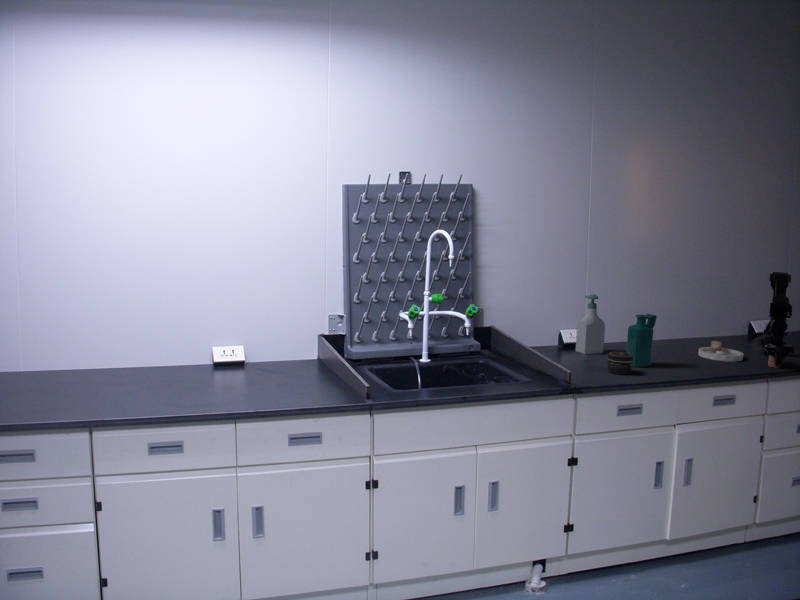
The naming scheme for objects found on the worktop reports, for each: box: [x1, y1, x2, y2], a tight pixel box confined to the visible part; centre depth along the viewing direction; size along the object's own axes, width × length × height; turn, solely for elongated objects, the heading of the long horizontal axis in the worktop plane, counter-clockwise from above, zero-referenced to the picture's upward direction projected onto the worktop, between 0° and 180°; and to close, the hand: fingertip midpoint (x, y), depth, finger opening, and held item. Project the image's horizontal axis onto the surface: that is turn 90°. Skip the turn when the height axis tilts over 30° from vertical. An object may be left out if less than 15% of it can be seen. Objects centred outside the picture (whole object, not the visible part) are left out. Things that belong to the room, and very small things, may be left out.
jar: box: [606, 351, 633, 376], centre depth 258 cm, size 10×10×8 cm
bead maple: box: [710, 340, 723, 353], centre depth 295 cm, size 4×4×5 cm
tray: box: [697, 346, 745, 363], centre depth 290 cm, size 18×18×3 cm
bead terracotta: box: [767, 355, 781, 369], centre depth 273 cm, size 4×4×5 cm
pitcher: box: [625, 313, 657, 368], centre depth 270 cm, size 10×8×22 cm
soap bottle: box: [575, 293, 606, 355], centre depth 293 cm, size 11×8×27 cm
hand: (773, 364), depth 273 cm, fingers closed on bead terracotta, 4 cm apart
